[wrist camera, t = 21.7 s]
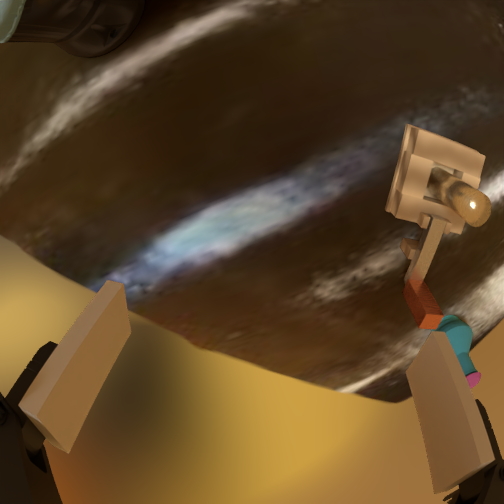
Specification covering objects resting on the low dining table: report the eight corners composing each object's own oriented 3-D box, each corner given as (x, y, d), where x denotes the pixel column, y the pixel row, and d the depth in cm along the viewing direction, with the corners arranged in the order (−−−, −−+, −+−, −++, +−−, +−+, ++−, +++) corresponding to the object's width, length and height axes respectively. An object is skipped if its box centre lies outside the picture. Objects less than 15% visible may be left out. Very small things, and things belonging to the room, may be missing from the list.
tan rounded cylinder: (428, 163, 36) (472, 189, 25) (449, 170, 36) (495, 198, 25) (421, 189, 38) (460, 223, 27) (442, 195, 38) (484, 230, 27)
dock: (406, 123, 34) (421, 127, 30) (475, 150, 34) (494, 158, 30) (374, 241, 43) (383, 258, 39) (441, 255, 43) (454, 271, 38)
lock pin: (427, 213, 36) (458, 245, 28) (443, 217, 36) (476, 249, 28) (399, 286, 42) (418, 328, 34) (415, 288, 42) (436, 329, 34)
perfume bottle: (417, 338, 52) (438, 397, 39) (445, 304, 47) (476, 362, 34) (444, 347, 53) (466, 401, 40) (471, 316, 48) (500, 369, 35)
